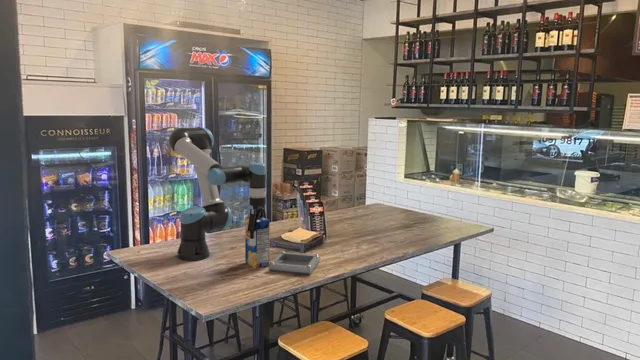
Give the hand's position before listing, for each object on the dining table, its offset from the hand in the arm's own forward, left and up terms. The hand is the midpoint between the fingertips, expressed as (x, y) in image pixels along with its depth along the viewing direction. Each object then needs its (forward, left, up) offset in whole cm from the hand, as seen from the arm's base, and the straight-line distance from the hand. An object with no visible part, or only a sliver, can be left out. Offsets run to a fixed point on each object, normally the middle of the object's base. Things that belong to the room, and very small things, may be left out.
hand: (257, 241), depth 228 cm
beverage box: (0, 0, -11) cm, 11 cm away
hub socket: (+18, +2, -11) cm, 21 cm away
